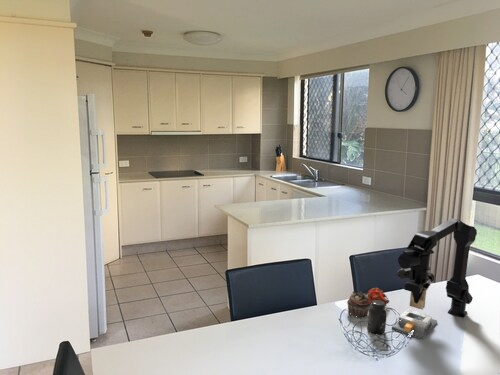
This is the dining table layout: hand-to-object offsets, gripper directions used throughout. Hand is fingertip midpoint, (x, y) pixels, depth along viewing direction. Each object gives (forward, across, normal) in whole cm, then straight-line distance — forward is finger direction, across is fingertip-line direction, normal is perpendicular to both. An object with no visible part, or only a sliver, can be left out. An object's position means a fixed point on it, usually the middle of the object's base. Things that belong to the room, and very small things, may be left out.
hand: (417, 301), depth 171 cm
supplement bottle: (+11, +15, -10) cm, 21 cm away
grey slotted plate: (+10, 0, 0) cm, 10 cm away
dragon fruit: (+11, -7, -19) cm, 23 cm away
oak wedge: (+2, 0, 0) cm, 2 cm away
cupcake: (+11, +6, -22) cm, 25 cm away
